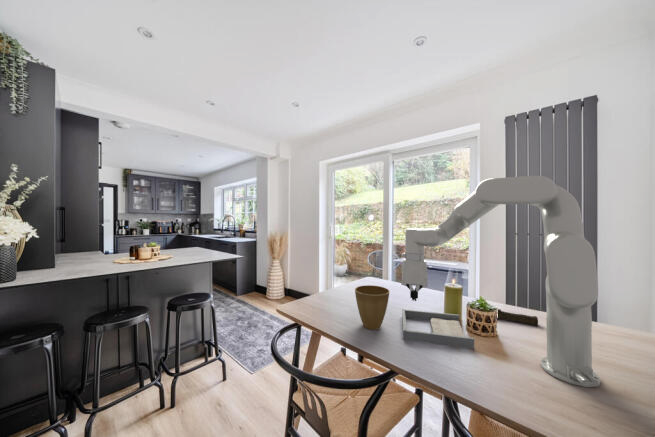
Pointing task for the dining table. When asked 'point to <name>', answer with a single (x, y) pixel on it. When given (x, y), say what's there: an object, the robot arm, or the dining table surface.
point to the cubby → (433, 337)
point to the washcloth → (446, 327)
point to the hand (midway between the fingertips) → (414, 299)
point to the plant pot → (372, 305)
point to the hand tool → (518, 317)
